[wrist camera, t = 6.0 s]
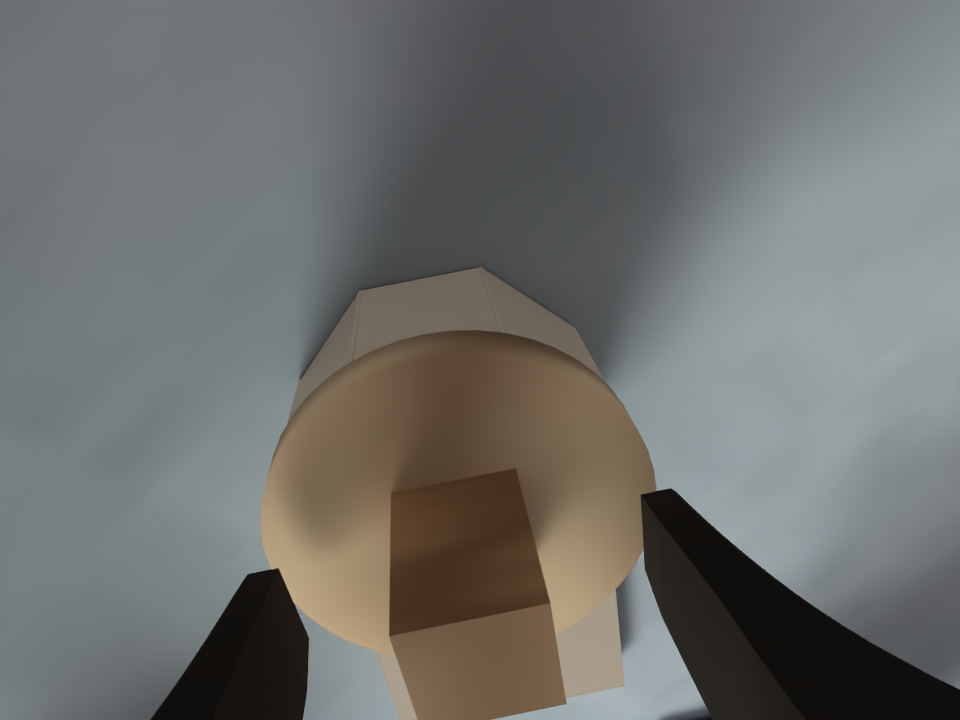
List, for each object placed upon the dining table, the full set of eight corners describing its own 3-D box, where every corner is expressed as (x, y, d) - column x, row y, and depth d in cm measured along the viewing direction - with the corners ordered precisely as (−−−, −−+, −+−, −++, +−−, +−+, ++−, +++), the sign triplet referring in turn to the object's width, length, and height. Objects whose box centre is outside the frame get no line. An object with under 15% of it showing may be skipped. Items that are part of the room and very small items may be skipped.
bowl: (567, 249, 17) (611, 313, 13) (591, 480, 20) (631, 579, 17) (272, 306, 17) (238, 387, 13) (349, 529, 20) (339, 639, 17)
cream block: (600, 497, 21) (609, 518, 20) (616, 661, 25) (624, 685, 24) (348, 548, 21) (346, 572, 20) (404, 705, 25) (404, 731, 24)
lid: (631, 293, 13) (732, 417, 9) (648, 589, 17) (723, 763, 13) (211, 375, 13) (131, 538, 9) (327, 654, 17) (307, 851, 13)
